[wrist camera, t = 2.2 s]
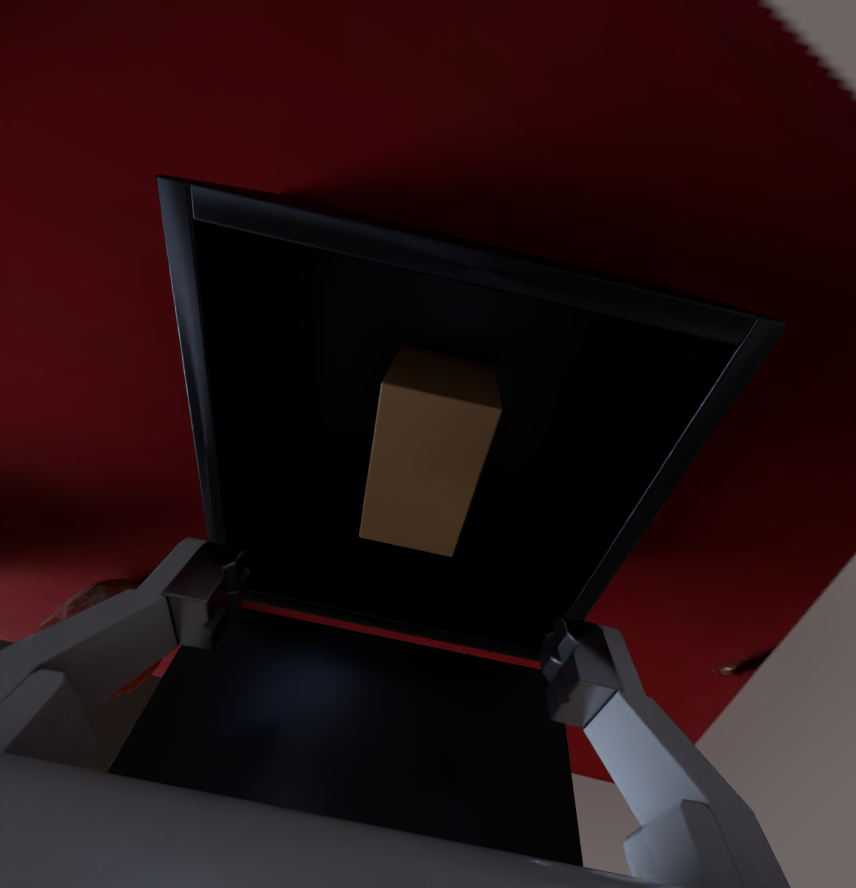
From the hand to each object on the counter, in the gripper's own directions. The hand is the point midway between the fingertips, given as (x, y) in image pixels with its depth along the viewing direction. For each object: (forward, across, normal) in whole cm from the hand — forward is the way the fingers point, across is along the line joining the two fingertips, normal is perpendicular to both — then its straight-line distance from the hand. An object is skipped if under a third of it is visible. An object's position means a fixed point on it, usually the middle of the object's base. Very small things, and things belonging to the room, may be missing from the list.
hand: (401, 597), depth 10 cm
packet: (+9, 0, 0) cm, 9 cm away
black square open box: (+10, 0, 0) cm, 10 cm away
